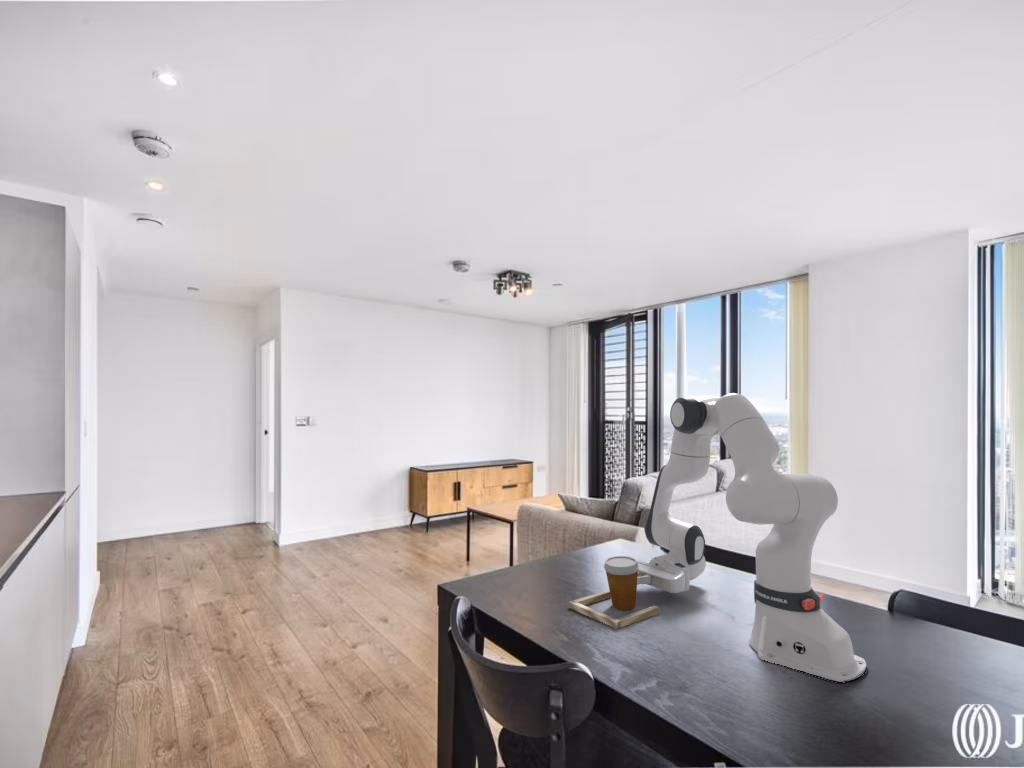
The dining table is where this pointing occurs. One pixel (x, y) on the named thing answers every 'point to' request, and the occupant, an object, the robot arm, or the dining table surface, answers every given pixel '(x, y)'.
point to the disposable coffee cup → (622, 581)
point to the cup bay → (616, 623)
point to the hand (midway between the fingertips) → (632, 580)
